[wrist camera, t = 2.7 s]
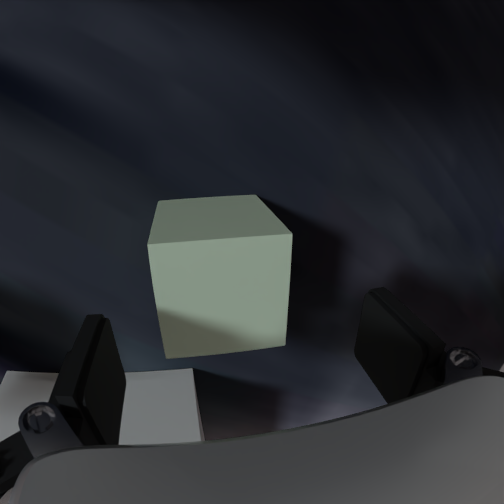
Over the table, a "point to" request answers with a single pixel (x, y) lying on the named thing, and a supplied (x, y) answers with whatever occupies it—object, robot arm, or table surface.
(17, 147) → the table surface
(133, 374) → the bin
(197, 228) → the green block
